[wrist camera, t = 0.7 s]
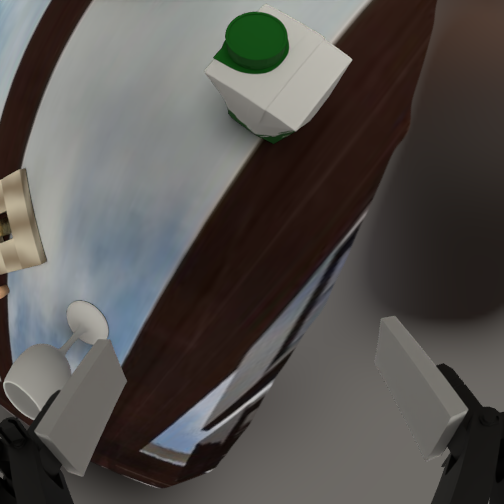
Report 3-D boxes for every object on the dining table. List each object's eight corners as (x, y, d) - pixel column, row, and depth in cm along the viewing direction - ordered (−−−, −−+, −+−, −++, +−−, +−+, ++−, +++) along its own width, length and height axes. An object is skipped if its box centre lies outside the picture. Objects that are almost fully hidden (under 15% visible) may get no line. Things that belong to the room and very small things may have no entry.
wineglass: (117, 325, 43) (56, 413, 23) (96, 352, 45) (42, 434, 25) (78, 290, 41) (0, 362, 21) (61, 320, 43) (-6, 391, 23)
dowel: (2, 284, 41) (-6, 289, 39) (7, 283, 41) (-1, 288, 39) (5, 294, 42) (-2, 299, 39) (10, 293, 42) (2, 298, 39)
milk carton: (257, 65, 32) (265, -19, 13) (314, 103, 34) (375, 51, 15) (217, 115, 34) (185, 66, 15) (275, 154, 36) (304, 143, 17)
